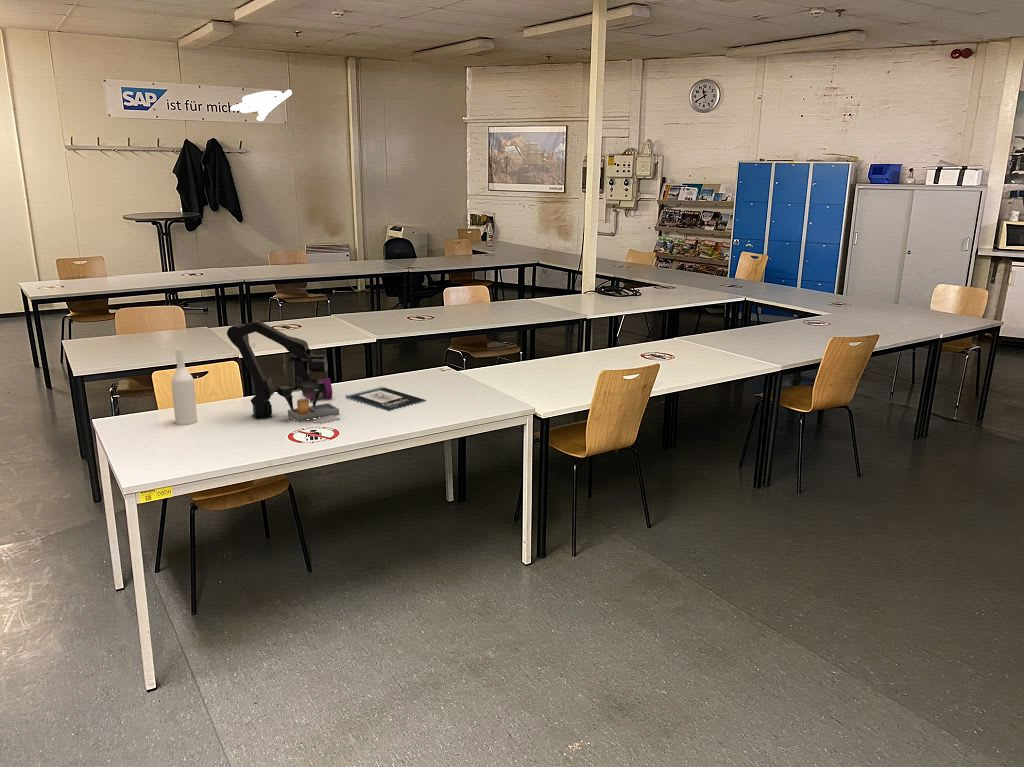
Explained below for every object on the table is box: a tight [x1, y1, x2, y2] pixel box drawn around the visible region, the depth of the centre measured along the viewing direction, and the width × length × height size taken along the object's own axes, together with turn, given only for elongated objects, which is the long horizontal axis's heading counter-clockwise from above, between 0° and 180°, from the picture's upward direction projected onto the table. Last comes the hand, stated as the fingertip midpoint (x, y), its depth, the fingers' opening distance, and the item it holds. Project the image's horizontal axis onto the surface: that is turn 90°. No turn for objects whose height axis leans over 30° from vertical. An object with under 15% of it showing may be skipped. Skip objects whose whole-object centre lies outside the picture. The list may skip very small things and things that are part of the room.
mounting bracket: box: [306, 377, 333, 402], centre depth 341 cm, size 9×8×18 cm
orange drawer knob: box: [296, 398, 310, 415], centre depth 311 cm, size 5×5×6 cm
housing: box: [287, 402, 340, 422], centre depth 314 cm, size 18×10×2 cm, turn 127°
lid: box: [312, 415, 341, 425], centre depth 309 cm, size 9×6×1 cm, turn 135°
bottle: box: [170, 347, 198, 426], centre depth 300 cm, size 8×8×30 cm
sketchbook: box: [345, 386, 427, 412], centre depth 338 cm, size 22×30×2 cm
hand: (303, 408), depth 311 cm, fingers open, 9 cm apart
